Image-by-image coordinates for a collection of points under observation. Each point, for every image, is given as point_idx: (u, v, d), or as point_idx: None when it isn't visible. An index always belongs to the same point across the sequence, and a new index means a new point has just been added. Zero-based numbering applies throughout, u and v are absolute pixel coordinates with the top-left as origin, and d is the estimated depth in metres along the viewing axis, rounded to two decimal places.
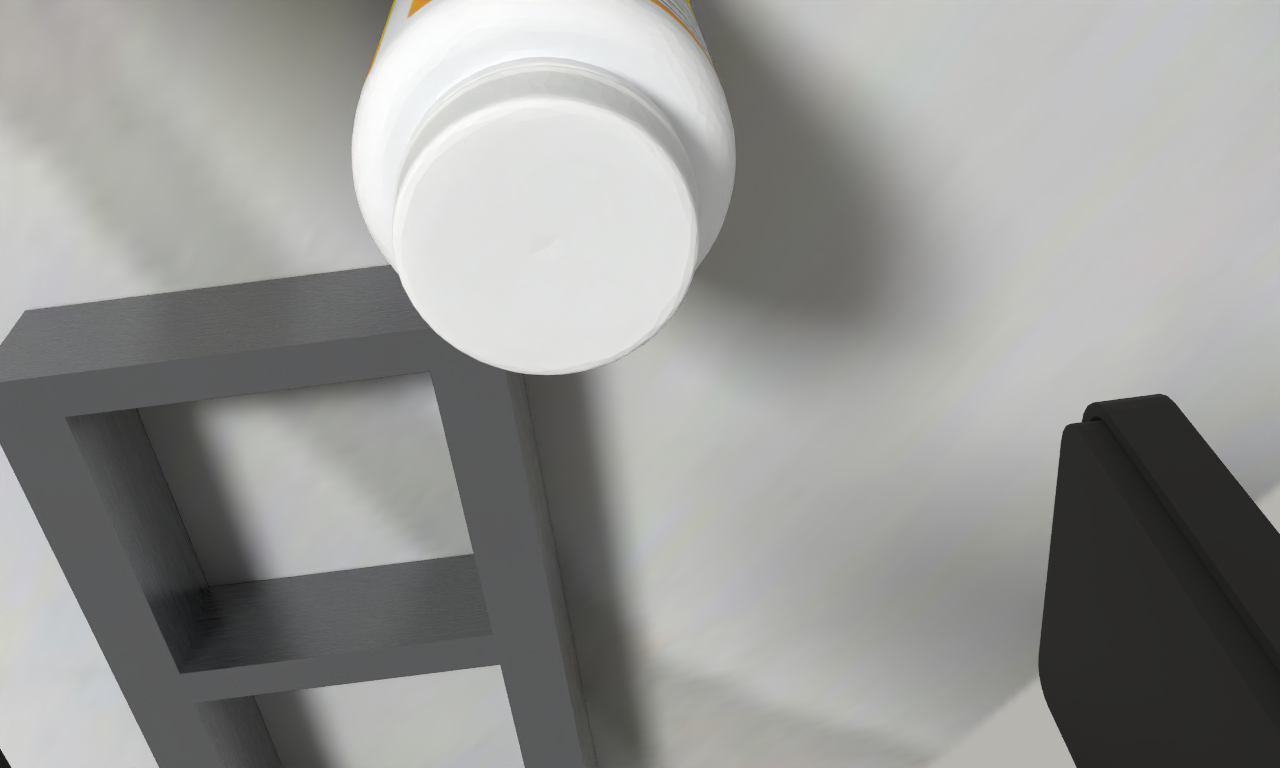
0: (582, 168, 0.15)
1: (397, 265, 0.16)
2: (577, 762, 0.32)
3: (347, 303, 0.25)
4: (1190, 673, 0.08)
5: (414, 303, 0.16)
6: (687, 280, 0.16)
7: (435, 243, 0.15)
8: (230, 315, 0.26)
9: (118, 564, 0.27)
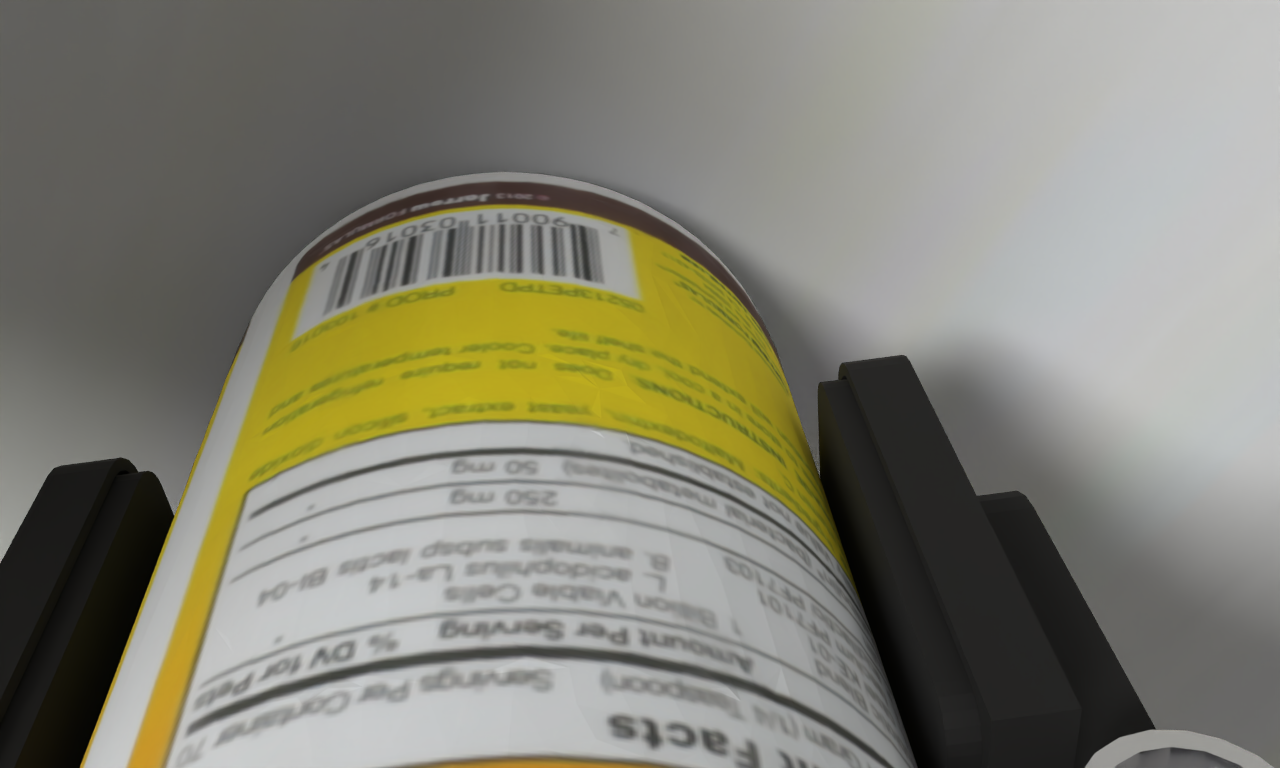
0: None
1: None
2: None
3: None
4: (883, 600, 0.08)
5: None
6: None
7: None
8: None
9: None
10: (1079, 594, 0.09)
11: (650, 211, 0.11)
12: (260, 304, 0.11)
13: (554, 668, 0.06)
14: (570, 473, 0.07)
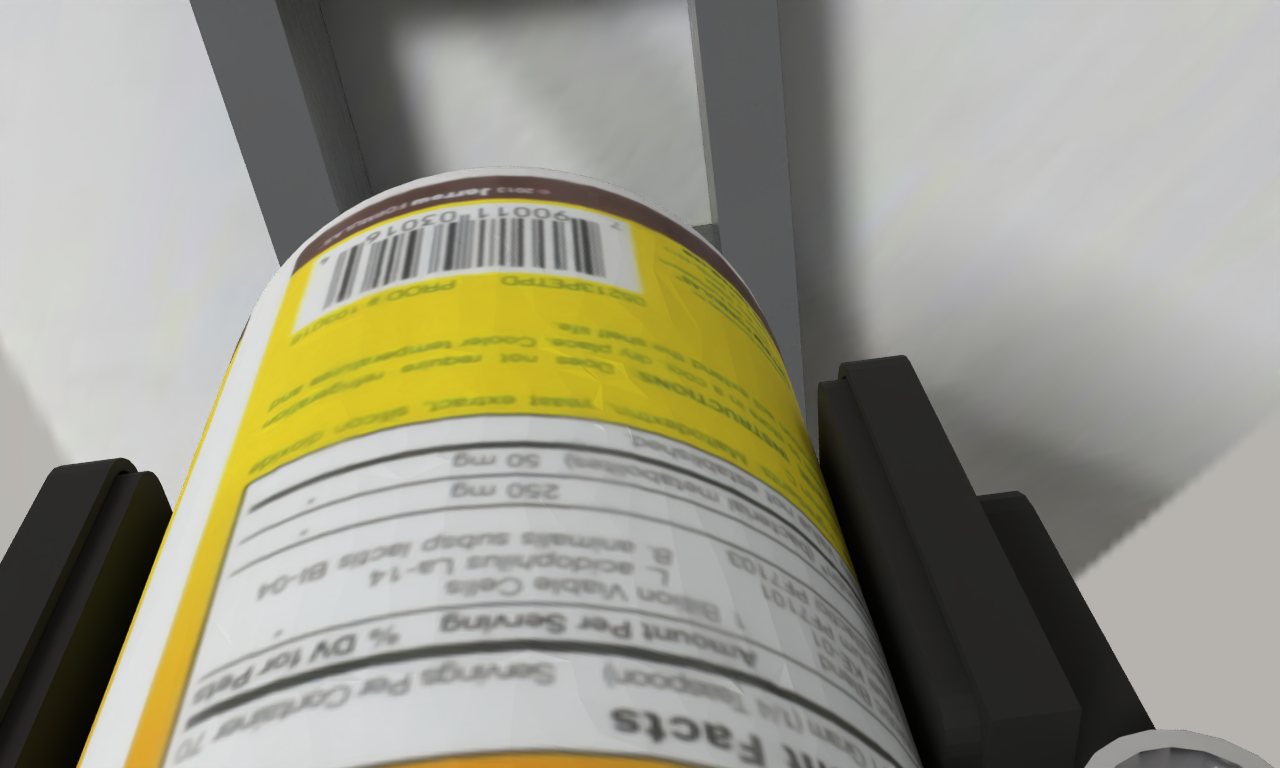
0: None
1: None
2: None
3: None
4: (883, 600, 0.08)
5: None
6: None
7: None
8: None
9: (317, 189, 0.24)
10: (1079, 594, 0.09)
11: (652, 206, 0.11)
12: (260, 299, 0.11)
13: (556, 660, 0.06)
14: (571, 469, 0.07)
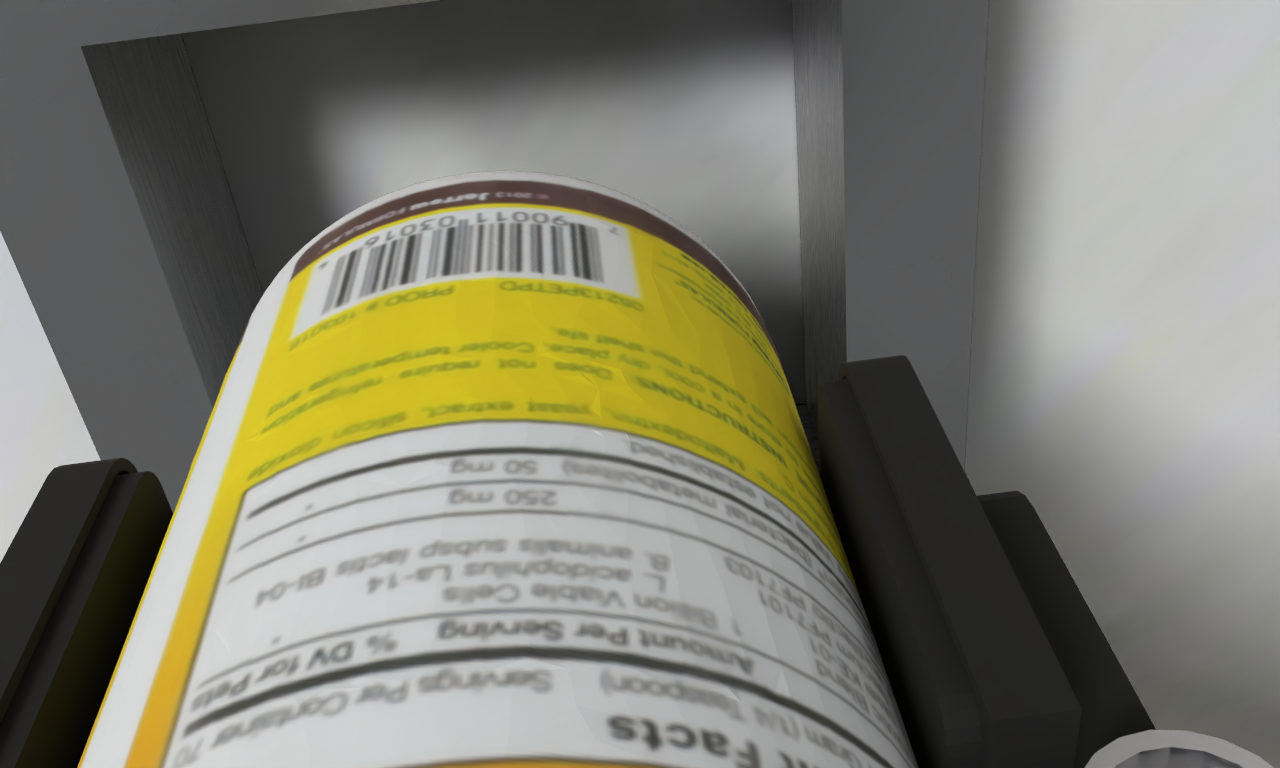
0: None
1: None
2: None
3: None
4: (883, 600, 0.08)
5: None
6: None
7: None
8: None
9: (181, 387, 0.14)
10: (1079, 594, 0.09)
11: (650, 210, 0.11)
12: (259, 303, 0.11)
13: (554, 668, 0.06)
14: (570, 475, 0.07)
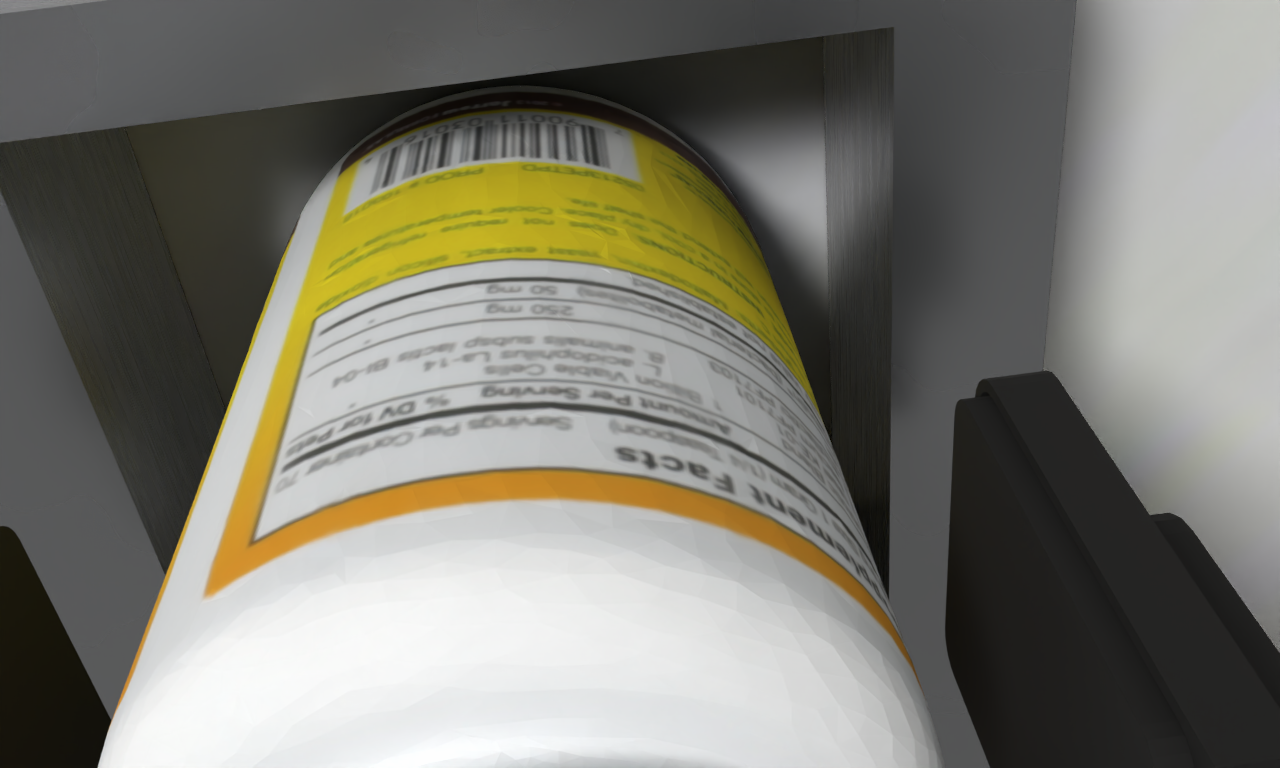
0: None
1: None
2: None
3: None
4: (1053, 631, 0.08)
5: None
6: None
7: None
8: None
9: (116, 526, 0.12)
10: (1257, 624, 0.08)
11: (650, 121, 0.13)
12: (308, 201, 0.13)
13: (574, 415, 0.07)
14: (584, 296, 0.09)
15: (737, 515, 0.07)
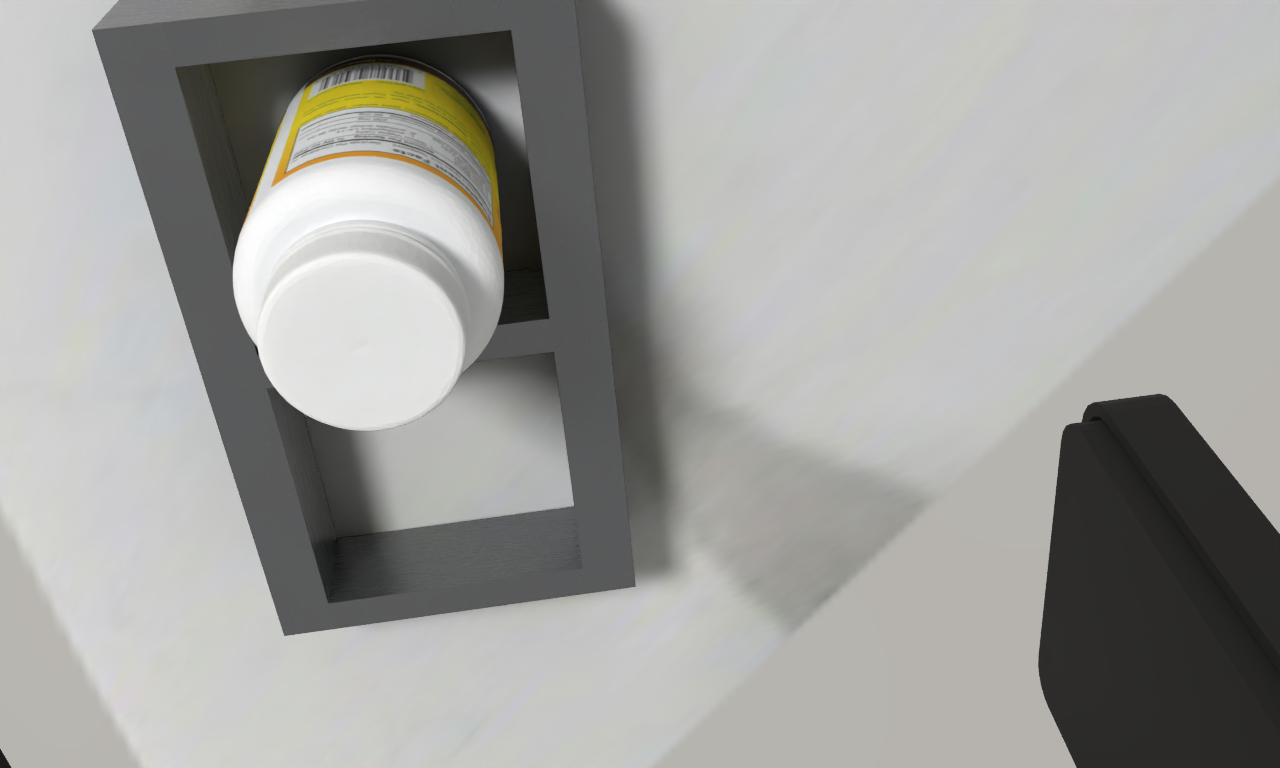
0: (382, 296, 0.23)
1: (260, 358, 0.23)
2: (617, 463, 0.34)
3: None
4: (1191, 673, 0.08)
5: (273, 383, 0.23)
6: (459, 367, 0.24)
7: (286, 344, 0.23)
8: None
9: (210, 232, 0.29)
10: None
11: (437, 70, 0.30)
12: None
13: (382, 141, 0.25)
14: (392, 117, 0.26)
15: (428, 166, 0.25)
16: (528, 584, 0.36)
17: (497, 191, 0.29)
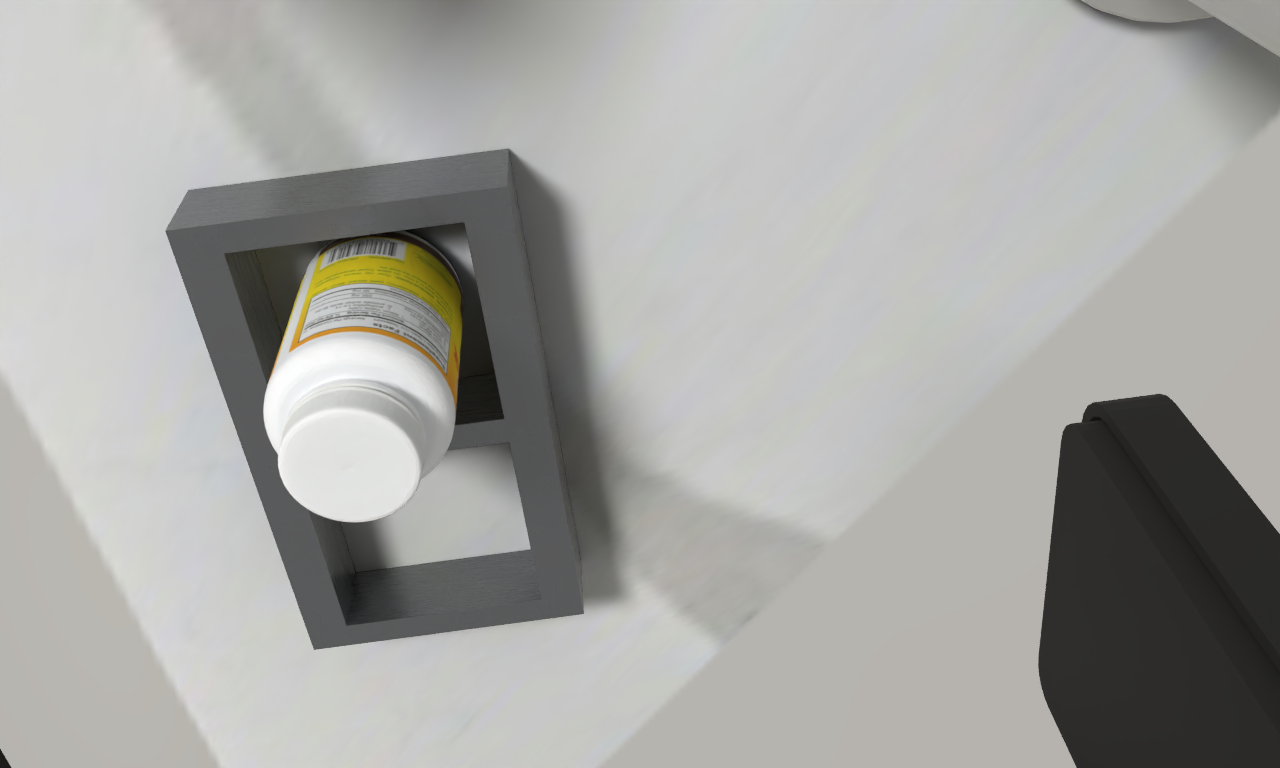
0: (362, 436, 0.33)
1: (281, 476, 0.34)
2: (563, 522, 0.45)
3: (408, 180, 0.38)
4: (1190, 673, 0.08)
5: (289, 492, 0.34)
6: (417, 480, 0.34)
7: (297, 467, 0.34)
8: (330, 188, 0.39)
9: (251, 362, 0.40)
10: None
11: (416, 238, 0.41)
12: (309, 263, 0.41)
13: (366, 317, 0.35)
14: (376, 292, 0.37)
15: (397, 336, 0.35)
16: (499, 612, 0.47)
17: (458, 333, 0.39)
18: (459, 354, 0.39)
